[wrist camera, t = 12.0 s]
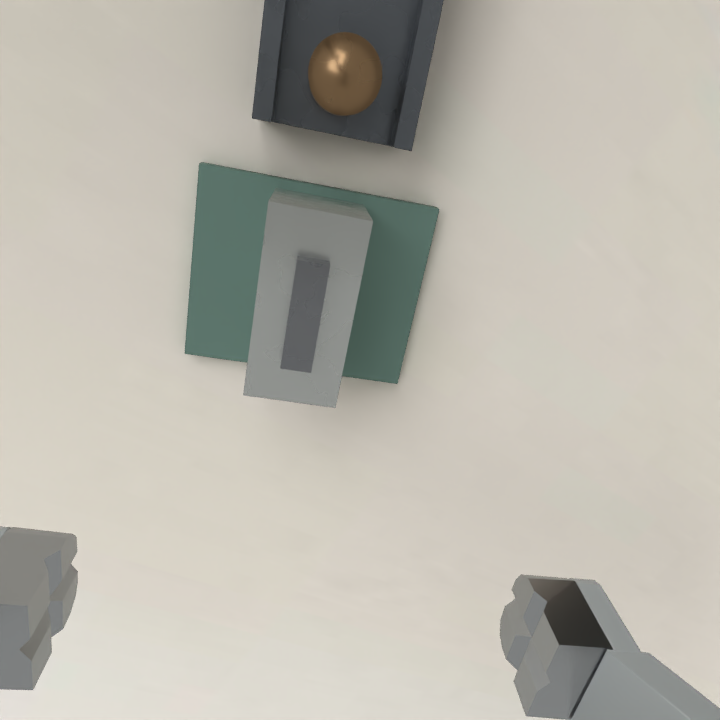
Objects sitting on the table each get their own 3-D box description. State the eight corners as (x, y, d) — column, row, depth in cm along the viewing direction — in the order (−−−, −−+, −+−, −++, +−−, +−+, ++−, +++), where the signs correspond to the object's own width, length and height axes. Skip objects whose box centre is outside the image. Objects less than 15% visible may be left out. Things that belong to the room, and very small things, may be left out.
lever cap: (275, 187, 27) (267, 203, 22) (363, 204, 28) (374, 224, 23) (253, 354, 31) (241, 403, 25) (332, 365, 31) (335, 416, 26)
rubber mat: (202, 162, 27) (199, 163, 27) (436, 206, 29) (439, 209, 28) (187, 348, 31) (184, 353, 30) (395, 377, 33) (397, 383, 32)
